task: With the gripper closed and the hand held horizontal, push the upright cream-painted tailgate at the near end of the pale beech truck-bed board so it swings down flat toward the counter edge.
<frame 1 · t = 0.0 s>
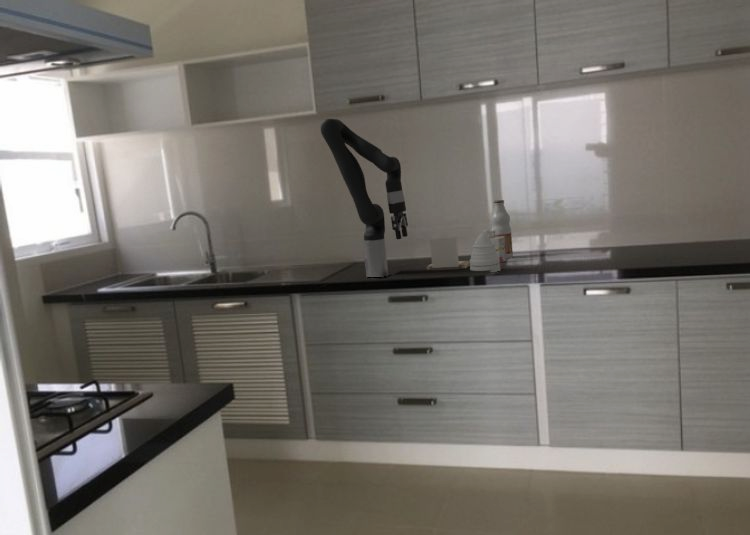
hand: (402, 237, 291), 17 cm above the counter, tool pointing down, fingers open, 8 cm apart
ink cartridge box: (498, 262, 305), on the counter
fruit juice: (503, 258, 316), on the counter
honey pot: (485, 272, 282), on the counter
bed: (449, 270, 296), on the counter
tailgate: (444, 254, 289), point 8 cm above the counter, hinge at 0.0°
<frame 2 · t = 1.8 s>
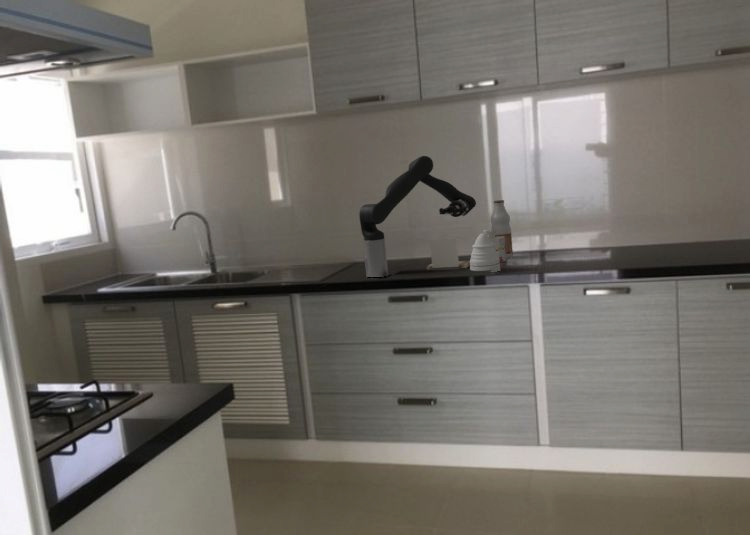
hand: (448, 211, 299), 26 cm above the counter, tool horizontal, fingers open, 5 cm apart
nothing on the counter moved.
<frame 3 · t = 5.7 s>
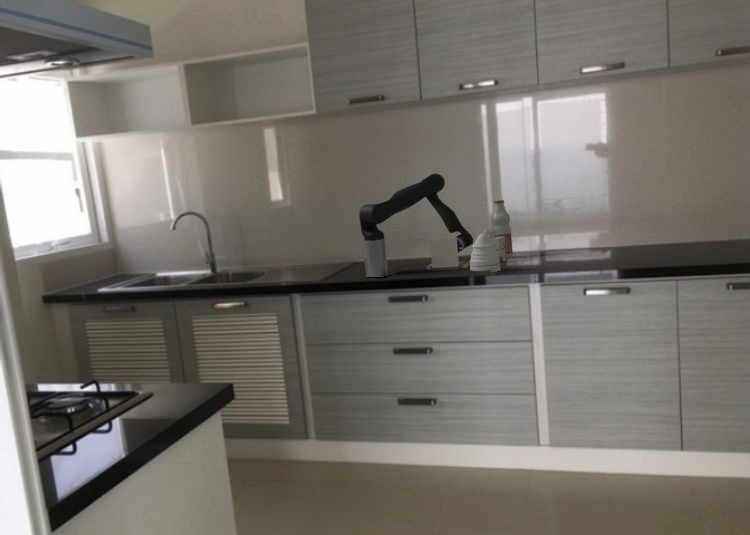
hand: (444, 251, 289), 10 cm above the counter, tool horizontal, fingers closed
tailgate: (444, 254, 289), point 8 cm above the counter, hinge at 0.2°, touching gripper
everything else where it was.
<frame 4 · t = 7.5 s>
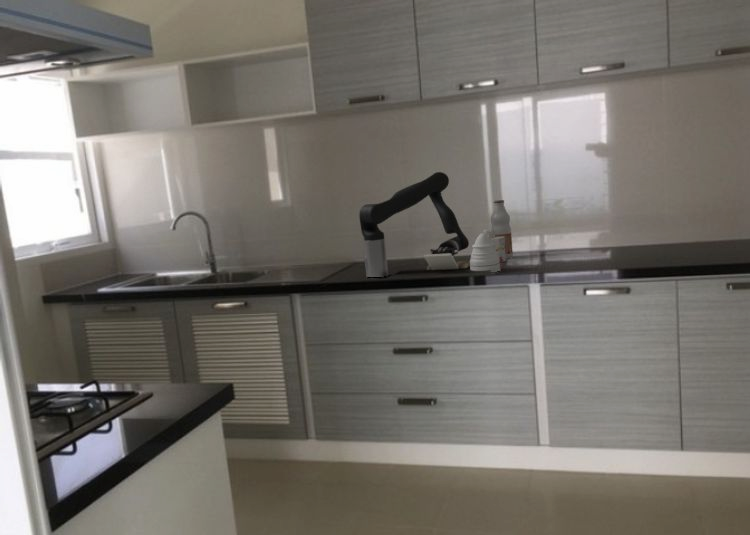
hand: (438, 254, 280), 10 cm above the counter, tool horizontal, fingers closed
tailgate: (441, 262, 284), point 5 cm above the counter, hinge at 54.5°, touching gripper
everything else where it was.
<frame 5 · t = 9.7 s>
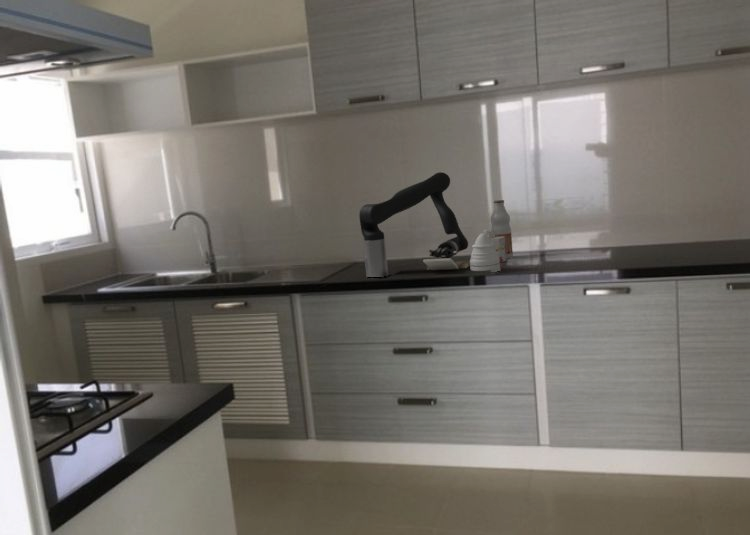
hand: (437, 255, 279), 9 cm above the counter, tool horizontal, fingers closed
tailgate: (441, 264, 284), point 4 cm above the counter, hinge at 63.6°
everything else where it was.
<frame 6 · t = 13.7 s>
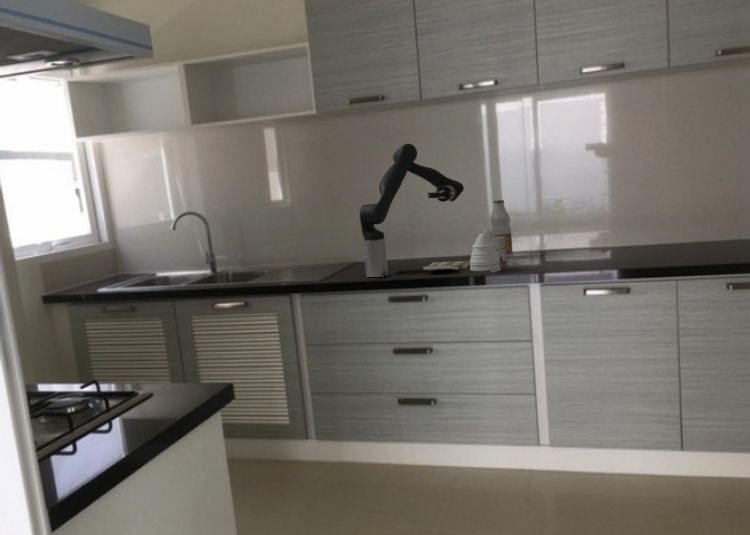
hand: (435, 195, 297), 34 cm above the counter, tool horizontal, fingers closed
tailgate: (441, 268, 284), point 3 cm above the counter, hinge at 76.8°
everything else where it was.
at the end: tailgate at +77° (first picture: +0°); tailgate tilted 77° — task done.
